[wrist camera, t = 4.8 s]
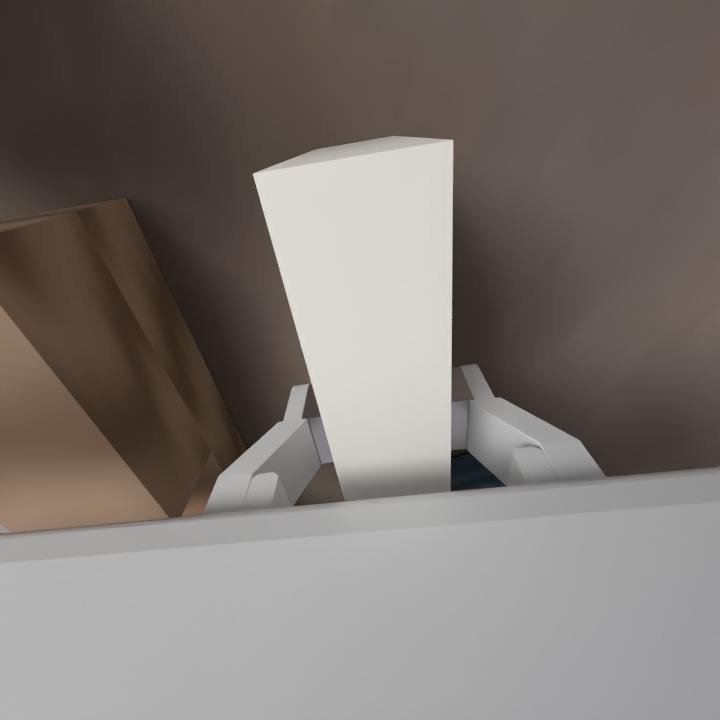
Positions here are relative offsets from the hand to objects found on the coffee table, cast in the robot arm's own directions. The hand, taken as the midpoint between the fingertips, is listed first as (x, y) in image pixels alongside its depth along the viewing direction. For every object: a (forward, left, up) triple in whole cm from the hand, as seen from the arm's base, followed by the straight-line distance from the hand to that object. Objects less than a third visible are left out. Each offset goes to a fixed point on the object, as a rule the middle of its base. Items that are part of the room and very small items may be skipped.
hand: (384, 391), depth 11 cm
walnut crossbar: (+6, -11, -5) cm, 13 cm away
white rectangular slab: (0, 0, -5) cm, 5 cm away
